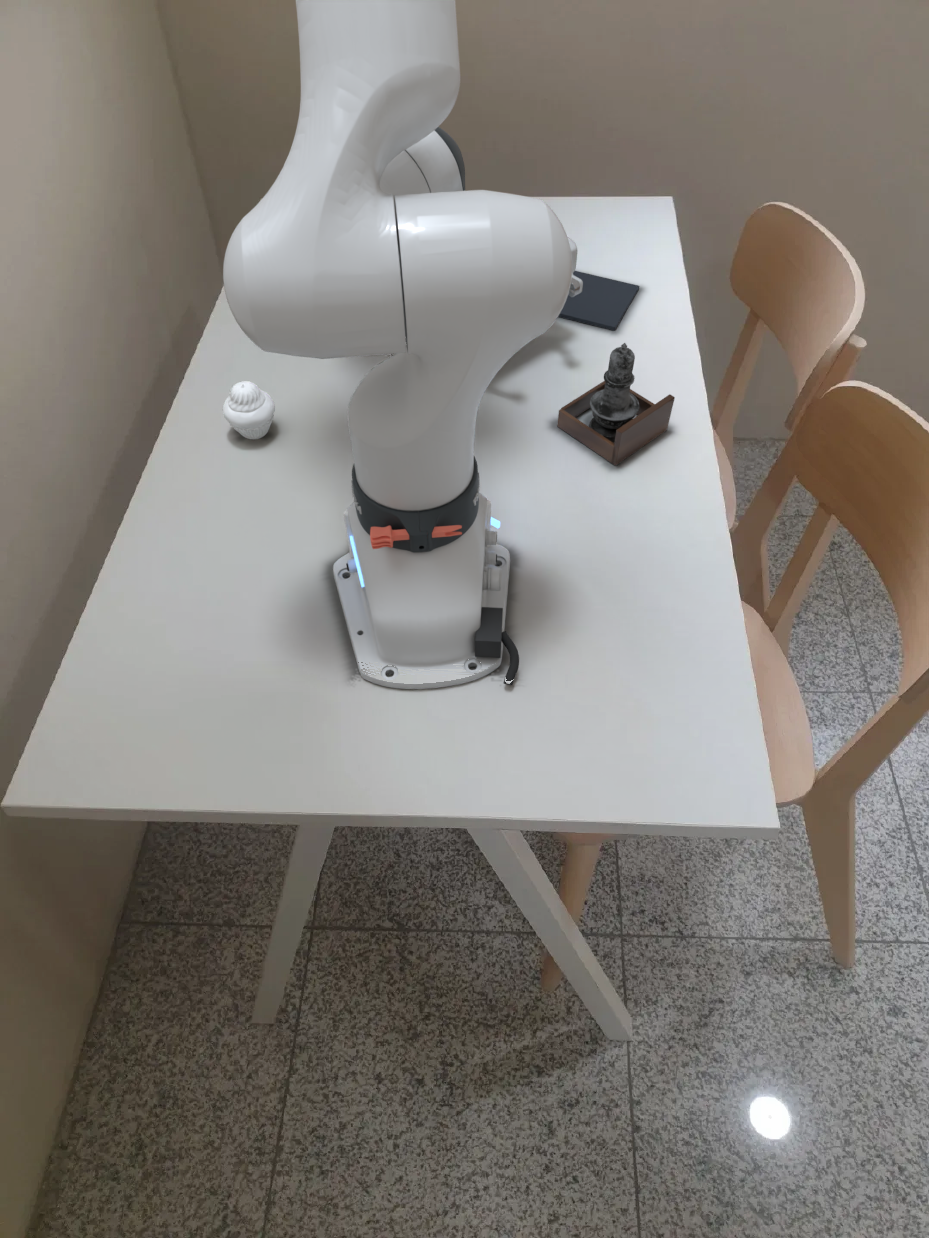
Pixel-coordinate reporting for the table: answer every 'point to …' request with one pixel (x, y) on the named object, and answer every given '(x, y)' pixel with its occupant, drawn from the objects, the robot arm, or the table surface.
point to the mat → (599, 301)
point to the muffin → (249, 410)
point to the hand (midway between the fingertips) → (551, 305)
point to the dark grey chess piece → (615, 395)
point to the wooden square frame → (628, 436)
